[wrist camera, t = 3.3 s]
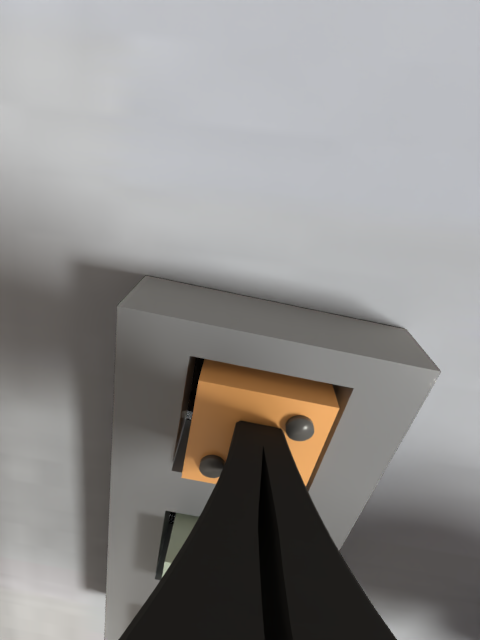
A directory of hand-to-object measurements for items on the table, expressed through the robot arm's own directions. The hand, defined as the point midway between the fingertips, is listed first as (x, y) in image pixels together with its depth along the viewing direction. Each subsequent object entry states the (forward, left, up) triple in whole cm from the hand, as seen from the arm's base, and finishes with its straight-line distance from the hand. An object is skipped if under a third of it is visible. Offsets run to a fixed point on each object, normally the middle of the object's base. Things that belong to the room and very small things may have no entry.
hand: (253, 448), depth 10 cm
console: (-6, +3, -3) cm, 8 cm away
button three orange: (0, 0, -3) cm, 3 cm away
